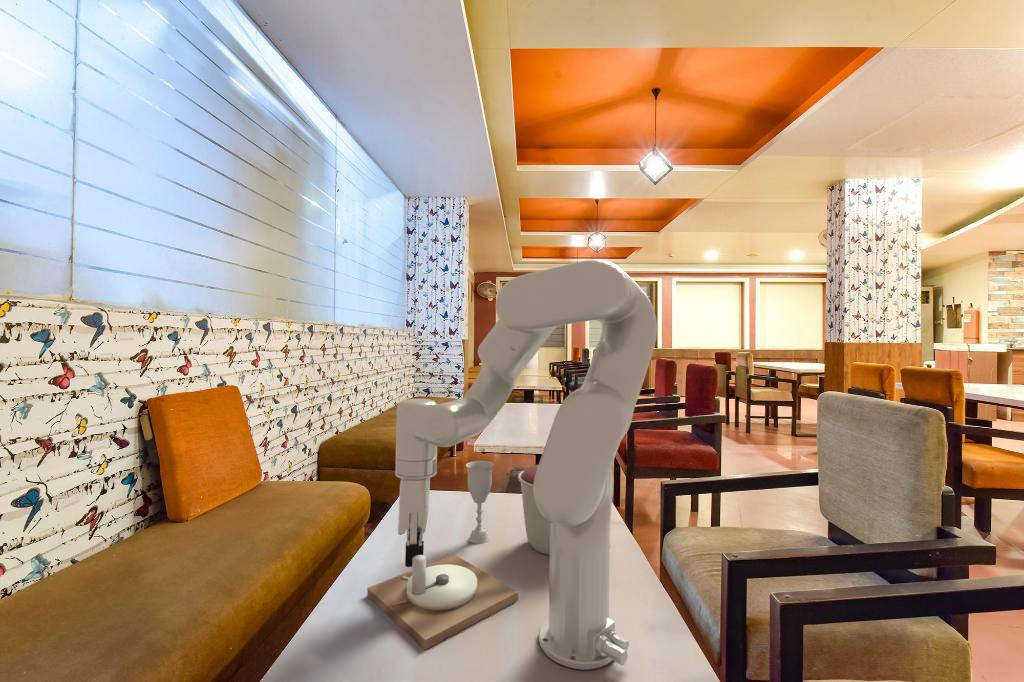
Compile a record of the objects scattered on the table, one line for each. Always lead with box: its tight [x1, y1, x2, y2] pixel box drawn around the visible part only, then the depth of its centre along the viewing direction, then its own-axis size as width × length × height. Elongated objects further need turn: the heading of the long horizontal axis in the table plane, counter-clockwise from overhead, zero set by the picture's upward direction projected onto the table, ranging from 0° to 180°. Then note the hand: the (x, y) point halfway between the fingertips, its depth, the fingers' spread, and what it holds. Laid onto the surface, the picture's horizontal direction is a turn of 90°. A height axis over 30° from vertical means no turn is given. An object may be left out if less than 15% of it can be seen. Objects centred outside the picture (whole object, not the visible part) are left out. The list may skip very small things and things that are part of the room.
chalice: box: [465, 460, 495, 545], centre depth 110 cm, size 7×7×18 cm
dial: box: [407, 554, 477, 610], centre depth 85 cm, size 13×13×8 cm
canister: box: [517, 463, 551, 556], centre depth 107 cm, size 18×18×21 cm
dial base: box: [366, 553, 519, 650], centre depth 85 cm, size 20×20×2 cm
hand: (414, 564), depth 84 cm, fingers closed
